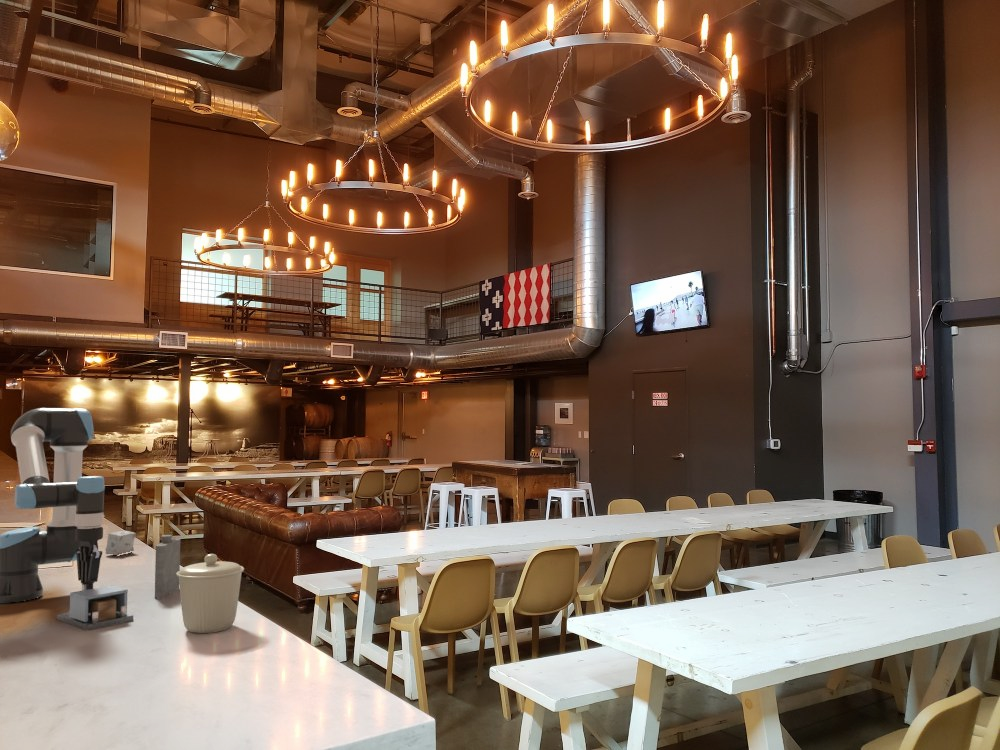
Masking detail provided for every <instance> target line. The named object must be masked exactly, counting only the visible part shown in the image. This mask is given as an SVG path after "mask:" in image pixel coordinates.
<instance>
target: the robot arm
mask: <svg viewBox="0 0 1000 750" xmlns="http://www.w3.org/2000/svg"><path fill="white" fill-rule="evenodd" d="M93 439H94V422H93V418H92V415H91V412H90V411H89V410H88V409H87V408H78V407H71V408H70V407H38V408H34V409H33V408H32V409H30V410H28V411H26V412H25V413H23V414H21V415H20V417H18V418H17V419H16V420H15V422H14V424H13V425H12V427H11V430H10V440H11V443H12V446H14V447H15V452H16V458H17V459H16V460H17V465H18V466H17V467H18V473H19V479H20V484H17V485H16V486H15V488H14V506H15V508H17V509H20V510H23V509H24V510H26V509H27V510H28V509H29V510H33V509H45V508H52V514H51V516H52V517H51V520H50V521H49V522H48V523H47V524H46V529H41V528H40V527H39V526H26V527H22V528H17V529H13V530H9V531H5V532H3V533H1V535H0V604H9V603H8V602H16V603H19V602H18V601H24V600H29V601H31V600H30V599H34V598H37V597H40V596H42V595H43V596H44V588H43V584H42V581H41V579H40V576H39V566H40V565H50V564H57V563H71V562H76V567H77V578H78V581H80V584H81V591H83V590H88V589H94V584H95V583H97V582H98V578H99V571H100V567H101V559H102V555H103V551H102V550H99V543H98V541H100V540H102V539H104V527H103V525H104V518H105V516H106V515H105V514H104V509H105V508H104V507H105V505H104V504H105V489H106V485H105V477H104V476H102V475H87V476H83V456H84V455H83V452H84V450H85V449H86V448H87V447H88V446H89V445H88V444H89V442H91V441H93ZM44 442H49V448H51V449H52V450H53V451H54V463H53V464H54V465H53V482H50V477H49V471H48V466H47V459H46V456H45V454H46V453H45V449H44ZM43 596H42V597H43ZM40 598H41V597H40ZM37 599H38V598H37ZM34 600H35V599H34ZM24 602H25V601H24Z"/></svg>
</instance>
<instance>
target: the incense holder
mask: <svg viewBox="0 0 1000 750" xmlns="http://www.w3.org/2000/svg"><path fill="white" fill-rule="evenodd" d="M136 538H137V532H133V531H129V530H120V531H113V532H108V534H107V540H106V546H105V555H108V554H113V555H119V554H122V553H126V552H130V551H134V552H135V550H134V544H135V543H134V542H135V539H136ZM113 555H112V556H113Z"/></svg>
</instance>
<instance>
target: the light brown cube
mask: <svg viewBox="0 0 1000 750" xmlns="http://www.w3.org/2000/svg"><path fill="white" fill-rule="evenodd" d="M94 611H99V616H98V621H99V620H104V619H109V618H114V617H116V600H115V599H112V598H104V599H98V600H93V601H91V618H92V612H94Z"/></svg>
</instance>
